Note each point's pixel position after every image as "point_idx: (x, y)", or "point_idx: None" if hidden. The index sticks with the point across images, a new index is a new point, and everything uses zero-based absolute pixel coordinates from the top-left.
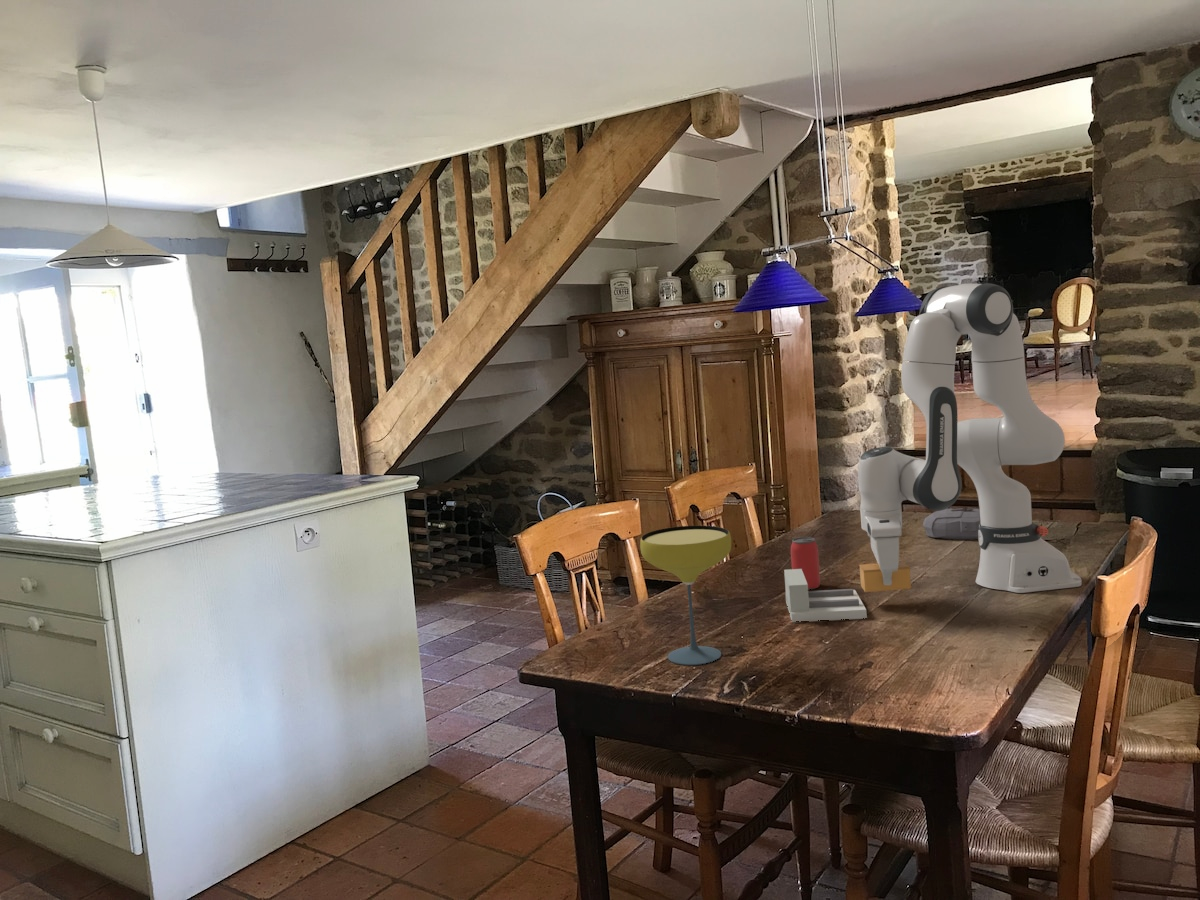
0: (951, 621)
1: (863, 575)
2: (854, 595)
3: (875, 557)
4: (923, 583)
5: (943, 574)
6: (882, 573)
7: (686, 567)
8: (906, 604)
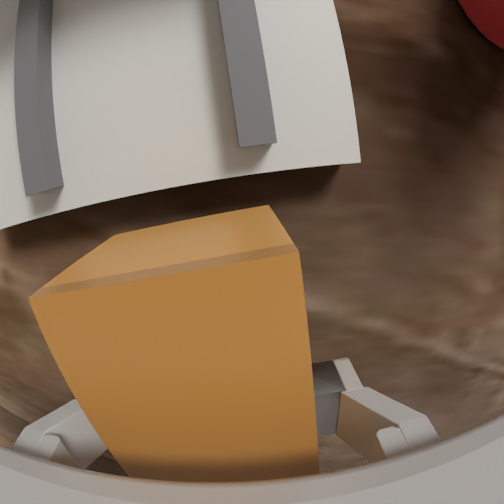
0: None
1: (83, 268)
2: (234, 153)
3: (210, 500)
4: (457, 395)
5: (494, 415)
6: (46, 418)
7: None
8: None
